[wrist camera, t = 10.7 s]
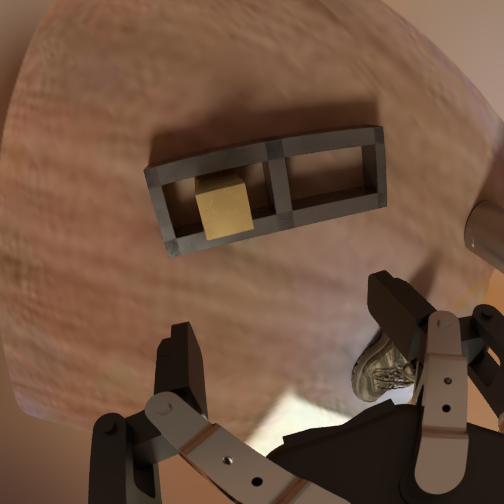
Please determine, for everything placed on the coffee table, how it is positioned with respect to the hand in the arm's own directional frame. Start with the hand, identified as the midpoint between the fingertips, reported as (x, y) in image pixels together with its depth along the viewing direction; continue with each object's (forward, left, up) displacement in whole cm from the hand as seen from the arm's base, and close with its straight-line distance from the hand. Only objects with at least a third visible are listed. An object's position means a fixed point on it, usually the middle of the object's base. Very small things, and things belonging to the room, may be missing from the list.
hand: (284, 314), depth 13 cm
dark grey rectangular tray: (-5, 0, -20) cm, 21 cm away
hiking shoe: (-20, +30, -21) cm, 42 cm away
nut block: (+1, 0, -21) cm, 21 cm away
